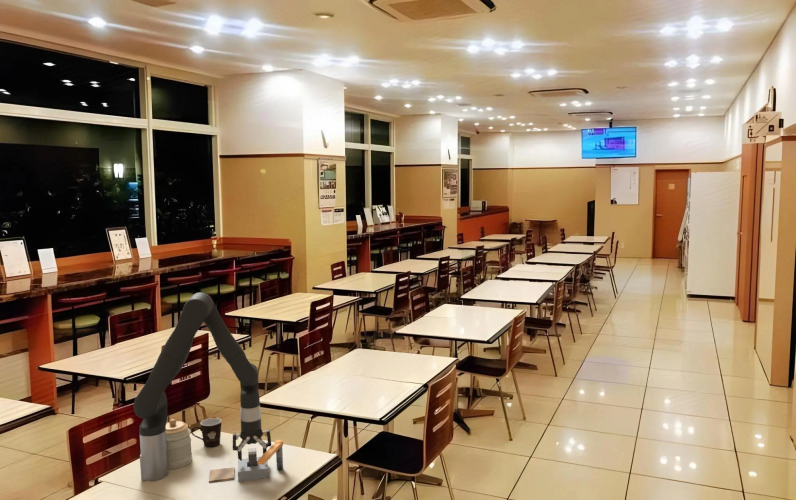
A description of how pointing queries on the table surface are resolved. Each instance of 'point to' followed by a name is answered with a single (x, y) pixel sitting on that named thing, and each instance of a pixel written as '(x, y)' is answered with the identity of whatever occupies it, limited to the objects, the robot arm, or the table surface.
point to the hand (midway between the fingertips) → (252, 458)
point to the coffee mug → (210, 432)
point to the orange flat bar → (270, 452)
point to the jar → (178, 444)
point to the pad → (221, 474)
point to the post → (279, 459)
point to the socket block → (251, 470)
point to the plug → (252, 457)
